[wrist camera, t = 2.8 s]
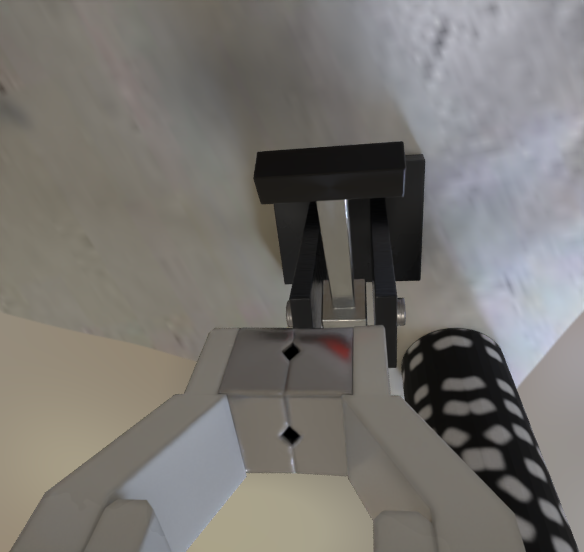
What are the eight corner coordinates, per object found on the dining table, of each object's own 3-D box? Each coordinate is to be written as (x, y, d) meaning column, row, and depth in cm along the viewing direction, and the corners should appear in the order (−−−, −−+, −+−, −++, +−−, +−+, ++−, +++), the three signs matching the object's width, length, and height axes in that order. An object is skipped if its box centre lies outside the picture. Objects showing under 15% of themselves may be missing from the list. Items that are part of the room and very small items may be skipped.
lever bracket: (271, 164, 32) (228, 258, 22) (423, 153, 31) (458, 249, 20) (286, 276, 37) (257, 399, 26) (418, 272, 35) (445, 401, 25)
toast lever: (258, 140, 17) (251, 190, 16) (402, 129, 16) (407, 181, 15) (302, 306, 27) (299, 345, 26) (392, 304, 26) (394, 344, 25)
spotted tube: (381, 373, 41) (398, 646, 24) (447, 311, 37) (522, 590, 20) (455, 415, 43) (519, 698, 26) (526, 360, 39) (657, 656, 22)
